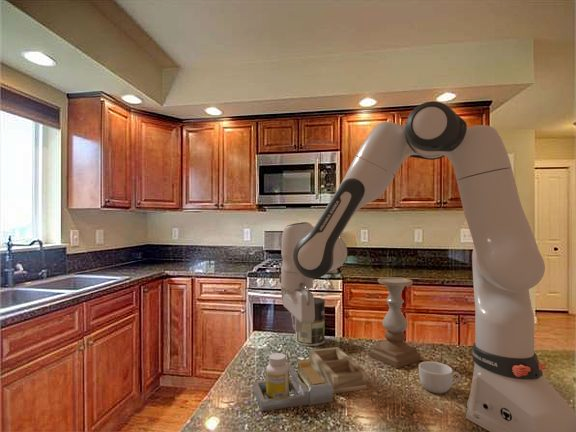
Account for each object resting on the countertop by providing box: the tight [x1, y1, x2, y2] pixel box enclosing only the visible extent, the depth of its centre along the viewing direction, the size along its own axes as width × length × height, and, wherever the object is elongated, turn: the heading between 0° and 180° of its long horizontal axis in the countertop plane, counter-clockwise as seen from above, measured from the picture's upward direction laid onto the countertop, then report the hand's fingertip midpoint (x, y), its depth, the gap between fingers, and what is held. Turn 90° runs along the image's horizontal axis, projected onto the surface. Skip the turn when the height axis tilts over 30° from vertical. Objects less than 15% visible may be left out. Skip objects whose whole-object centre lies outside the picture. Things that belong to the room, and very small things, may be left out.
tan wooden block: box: [297, 358, 325, 389], centre depth 89 cm, size 12×3×5 cm, turn 16°
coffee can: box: [295, 296, 326, 347], centre depth 122 cm, size 10×10×14 cm
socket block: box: [252, 363, 333, 412], centre depth 90 cm, size 20×17×4 cm
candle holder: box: [369, 276, 422, 369], centre depth 108 cm, size 11×11×24 cm
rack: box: [308, 346, 368, 395], centre depth 96 cm, size 18×9×4 cm, turn 16°
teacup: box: [418, 361, 462, 395], centre depth 88 cm, size 10×8×5 cm
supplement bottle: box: [265, 352, 290, 399], centre depth 84 cm, size 5×5×10 cm
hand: (297, 330), depth 99 cm, fingers closed
